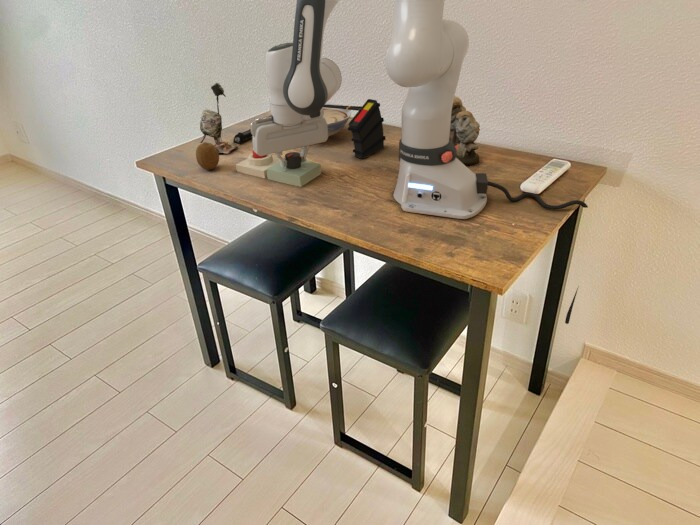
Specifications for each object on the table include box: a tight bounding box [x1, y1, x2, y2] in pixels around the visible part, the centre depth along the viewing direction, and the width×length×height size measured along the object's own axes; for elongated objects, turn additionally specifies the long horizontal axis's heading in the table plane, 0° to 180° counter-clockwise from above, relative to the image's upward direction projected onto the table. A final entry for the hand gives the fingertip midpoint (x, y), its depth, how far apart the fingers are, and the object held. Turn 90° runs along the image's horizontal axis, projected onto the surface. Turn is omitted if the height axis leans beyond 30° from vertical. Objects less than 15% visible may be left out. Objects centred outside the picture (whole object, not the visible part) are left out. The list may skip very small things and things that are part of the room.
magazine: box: [347, 98, 386, 160], centre depth 150 cm, size 4×13×15 cm, turn 142°
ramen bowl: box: [322, 102, 363, 137], centre depth 165 cm, size 25×23×8 cm
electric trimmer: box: [233, 128, 252, 145], centre depth 167 cm, size 4×16×3 cm, turn 143°
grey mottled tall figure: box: [199, 82, 238, 154], centre depth 154 cm, size 8×11×20 cm
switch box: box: [235, 152, 280, 179], centre depth 145 cm, size 10×10×4 cm
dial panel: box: [266, 160, 322, 188], centre depth 140 cm, size 11×10×3 cm
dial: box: [284, 151, 301, 169], centre depth 138 cm, size 4×4×4 cm
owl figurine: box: [449, 95, 481, 167], centre depth 144 cm, size 18×12×17 cm, turn 58°
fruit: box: [195, 141, 220, 171], centre depth 145 cm, size 6×6×8 cm
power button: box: [252, 149, 266, 158], centre depth 144 cm, size 4×4×2 cm
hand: (293, 163), depth 139 cm, fingers closed on dial, 4 cm apart
